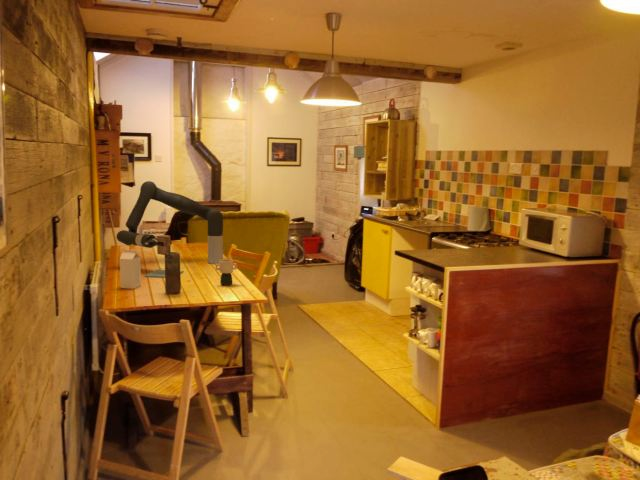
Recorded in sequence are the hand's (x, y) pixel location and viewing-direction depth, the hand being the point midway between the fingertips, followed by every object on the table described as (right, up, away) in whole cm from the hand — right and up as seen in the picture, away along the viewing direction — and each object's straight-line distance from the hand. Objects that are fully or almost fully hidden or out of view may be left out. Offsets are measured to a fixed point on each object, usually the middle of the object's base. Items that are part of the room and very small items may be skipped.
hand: (167, 243), depth 297 cm
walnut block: (-2, -6, +2) cm, 7 cm away
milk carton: (-11, -22, -26) cm, 36 cm away
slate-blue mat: (-3, -17, +4) cm, 18 cm away
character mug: (+36, -22, -17) cm, 45 cm away
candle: (+13, -24, -35) cm, 44 cm away
